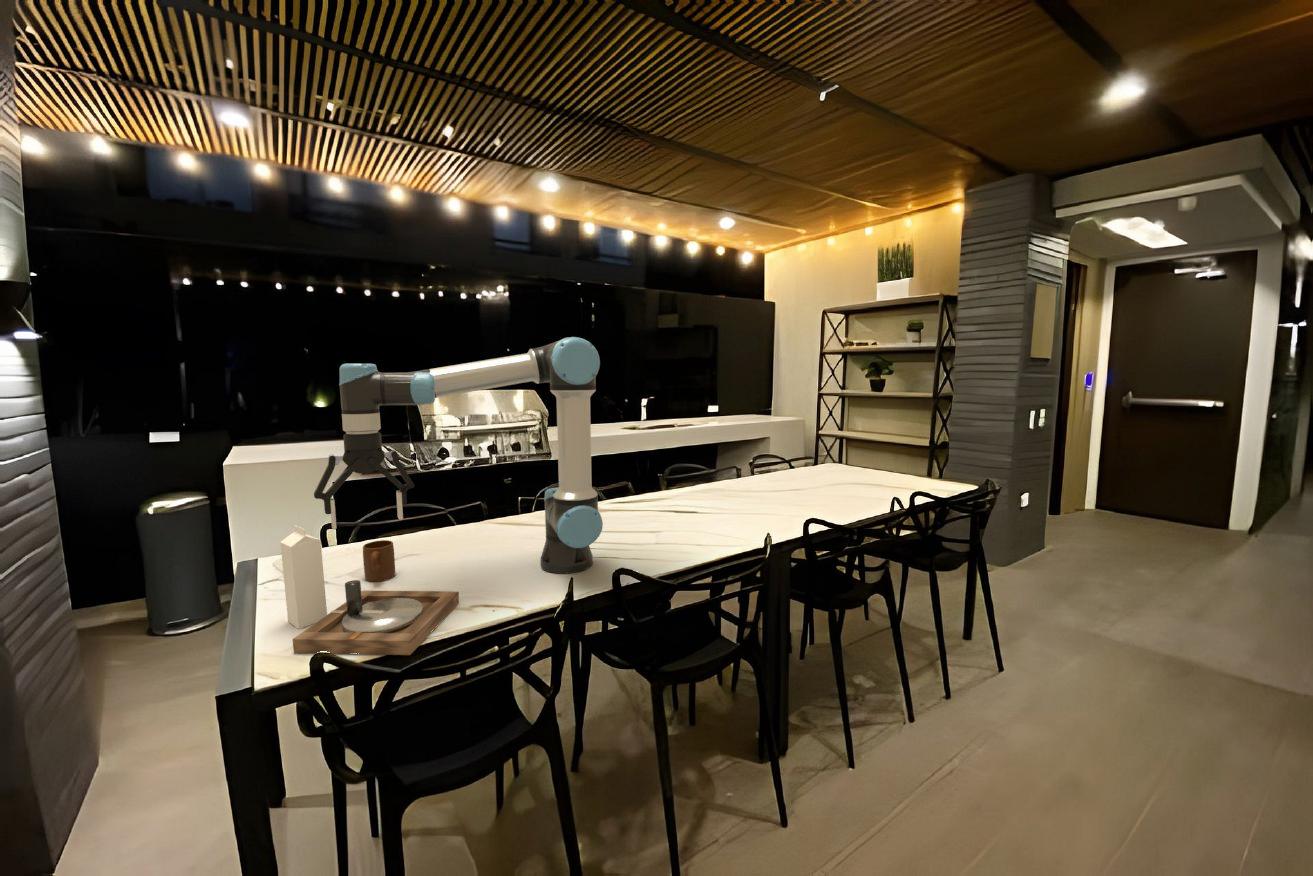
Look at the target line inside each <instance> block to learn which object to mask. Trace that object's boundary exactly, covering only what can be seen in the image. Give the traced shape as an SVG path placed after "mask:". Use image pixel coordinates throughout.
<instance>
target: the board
mask: <svg viewBox="0 0 1313 876" xmlns="http://www.w3.org/2000/svg"><path fill="white" fill-rule="evenodd" d="M361 596H362V605H365V604H368V603H371V602H375V601H379V600H384V599H391V598H410V599H415V600H417V601H419V602H421V603H422V605H423V614H422V615H421V616H420V617H419V618H418V619H417V620H416V621H415V622H414V623H412V624H411V625H409V626H407V627H404V628H402V629H399V630H396V631H393V632H389V633H362V632H356V633H346V632H345V631H344V630H343V628H342V619H343V618H344V616H345V615H346V614H347V604H346V601H345V602H344V603H343V604H341V605H339V606H338V607H336V608H335V609H333V610H331V611H330V612H329V613H327V616H325V617H324V618H322V619H321V620H319V621H318V622H317V623H315V624H312V625H310V626H308V628H306V629H305V630H303V631H302V632H301V633H299V634H298V635H296V636H295V637H293V638H292V648H293V653H294V654H309V655H310V654H316V653H317V652H320V651H327V652H330V653H333V654H332V655H351V654H350V653H357V654H356V655H371V656H372V655H374V656H375V655H379V656H380V655H382V656H384V655H386V656H387V655H388V656H391V655H392V656H398V655H399V656H411V655H412V654H413V653H414V652H415V651H416V650H417V648H418V647H420V646H421V644H422V643H423V642H424V641H425V640H426V639H427V638H428V637H429V636H430V635H431V634H430V632H431V631H432V630H433V629H434V628H435V627H436V626H437V625H438V624H439V623H440V622H441V621H442V620H443V619H444V618H445V617H446V616H449V615H450V613H452V612H453V610H454V609H455V608H456V607H457V606H458V605H459V604H460V594H459V591H450V590H448V591H446V590H445V591H443V590H442V591H438V590H436V591H435V590H366V589H365V590H361ZM448 614H449V615H448ZM446 618H447V617H446ZM446 618H445V619H446ZM445 619H444V620H445ZM444 620H443V621H444ZM443 621H442V622H443ZM442 622H441V623H442ZM441 623H440V624H441ZM440 624H439V625H440ZM439 625H438V626H439ZM438 626H437V627H438ZM437 627H436V628H437ZM436 628H435V629H436ZM435 629H434V630H435ZM434 630H433V631H434ZM429 634H430V635H429ZM428 635H429V636H428ZM427 636H428V637H427ZM426 637H427V638H426ZM425 638H426V639H425ZM358 653H359V654H358Z"/></svg>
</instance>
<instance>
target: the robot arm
mask: <svg viewBox="0 0 1313 876" xmlns="http://www.w3.org/2000/svg"><path fill="white" fill-rule="evenodd" d="M600 359H601V358H600V355H599V352H598V350H597V349H596V347H595V346H594V345H593V344H592V343H591V342H590V341H588V340H586V339H585V338H581V337H577V336H571V337H564V338H561V339H559V340H556V341H554V342H552V343H549V344H546V345H543V346H540V347H535V348H529V350H528V352H527V353H521V354H520V353H519V354H514V355H509V356H503V357H502V356H501V357H497V358H496V357H495V358H489V359H484V360H477V361H472V362H466V363H465V362H464V363H460V364H459V363H458V364H454V365H447V366H441V367H436V368H429V369H421V370H417V371H408V372H382V371H379V370H378V368H377V365H376V364H374V363H343V364H341V365H340V366H339V383H338V386H339V394H340V405H341V406H340V407H341V419H342V421H341V422H342V431H343V432H345V433H344V434H343V448H344V453H343V455H334V454H330V455H328V460H327V461H328V462H327V466H326V468H325V470H324V472H323V474H322V476H321V478H320V480H319V482H318V484H317V487H316V488H315V490H314V492H313V498H315V499H317V500H322V501H323V503H324V504H323V507H324V513H325V515H330V518H331V519H330V520H331V529H332V530H336V529H337V518H336V505H335V504H336V502H335V498H334V497H333V496H335V494H336V493H337V492H338V490H339V489H340V488H341V487H342V485H343V484H344V483H345V482H346V481H347V479H348V478H350V477H351V475H352V474H353V473H356V474H364V473H373V472H375V471H378V472H380V473H381V474H382V475H383V476H384V477H385V478H386V479H387V480H389V481H390V482H391V483H392V484H393V485H394V486H395V487H397V488H398V489H399V490H396V491H395V492H396V495H395V496H396V510H397V512H396V513H397V518H398V520H399V521H401V520H404V513H403V511H404V510H403V505H407V503H408V497H407V492H408V490H410V489H413V488H415V483H414V482H413V480H412V479H411V477H410V476H409V474H408V472H407V471H406V470H405V468H404V466H403V465H402V463H401V461H400V460H399V454H398V452H397V451H396V450H394V449H391V450H390V451H387V452H383V445H382V444H383V443H382V433H381V432H379V431H380V430H381V428H382V427H381V415H380V414H381V413H380V406H424V405H433V404H434V403H435V401H436V399H437V398H443V397H448V396H454V395H460V394H465V393H471V392H477V391H478V392H479V391H482V390H483V391H484V390H489V389H493V388H494V389H495V388H500V387H506V386H511V385H517V384H522V383H529V382H533V383H535V384H544V383H549V384H550V385H549V389H550V390H549V391H550V392H551V394H552V395H554V396H555V399H556V428H557V431H556V432H557V460H558V461H557V463H558V464H557V465H558V467H557V468H558V487H557V486H556V487H552V488H548V489H546V490H545V491H544V499H543V501H544V515H545V516H544V517H545V518H544V521H545V542H544V545H543V549H542V551H541V555H540V567H541V569H542V570H543V571H545V572H548V573H553V574H573V573H579V572H582V571H585V570H587V569H589V568H590V567H591V566H593V564H594V561H593V560H594V557H593V553H592V550H591V547H590V546H591V545H593V543H595V542H596V541H597V539H598V538H599V537H600V536H601V534H602V530H603V528H604V527H603V526H604V525H603V524H604V523H603V518H602V515H601V513H600V512H599V503H598V502H599V500H598V499H599V498H598V497H599V495H598V492H597V491H596V490H595V488H593V487H592V483H593V482H592V439H591V438H592V437H591V436H592V433H591V432H592V430H591V429H592V427H591V397H592V396H593V394H594V393H595V392H596V390H597V389H596V388H597V387H596V386H597V384H596V380H597V379H596V377H597V375H598V373H599V370H600V366H601V360H600ZM386 458H387V460H388V461H391V462H392V464H393V465H394V466H395V467H394V468H395V469H396V470H397V472H398V473H399V475H400V476H401V477H402V479H403V480H404V482H405V484H402V482H400V481H399V480H398V479H397V478H396V477H395V476H394V475H393V474H392V473H391V472H389V471H388V470H387V469H386V468H385V466H383V465H382V464H381V463H383V461H384V460H385V459H386ZM340 462H344V464H345V465H346V468H344V470H343V471H342V473H341V474H340V475H339V476H338V477H337V479H336V480H335V481H333V483H332V484H331V486H330V487H329V488H328V489H327V491H326V492H324V491H325V488H326V487H327V484H328V482H329V481H330V478H331V477H332V474H333V472H334V470H335V466H338V465H340Z"/></svg>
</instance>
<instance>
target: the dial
mask: <svg viewBox="0 0 1313 876" xmlns="http://www.w3.org/2000/svg"><path fill="white" fill-rule="evenodd" d="M361 585H362V584H361V580H359V579H353V580H352V579H351V580H349V581H347V582H345V583H344V589H345V602H346V604H347V614H346V615H345V616H344V618H343V619H342V628H343V630H344V631H345V632H346V633H356V632H362V633H389V632H393V631H396V630H399V629H402V628H404V627H407V626H409V625H411V624H412V623H414V622H415V621H416V620H417V619H418V618H419V617H420V616H421V615H422V614H423V605H422V603H421V602H419V601H417V600H415V599H410V598H391V599H384V600H379V601H375V602H371V603H368V604H365V605H362V596H361V591H362V586H361Z"/></svg>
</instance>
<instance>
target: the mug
mask: <svg viewBox="0 0 1313 876" xmlns="http://www.w3.org/2000/svg"><path fill="white" fill-rule="evenodd" d="M362 558H363V569H364V570H363V572H364V578H365V580H366V581H368V582H372V583H373V582H382V581H386V580H389V579H391V578H393V577H394V576H395V575H396V560H395V558H396V557H395V546H394V542H393V541H392V540H387V539H386V540H385V539H381V540H375V541H370V542H367V543H365V544H364V545H363V546H362Z"/></svg>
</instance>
